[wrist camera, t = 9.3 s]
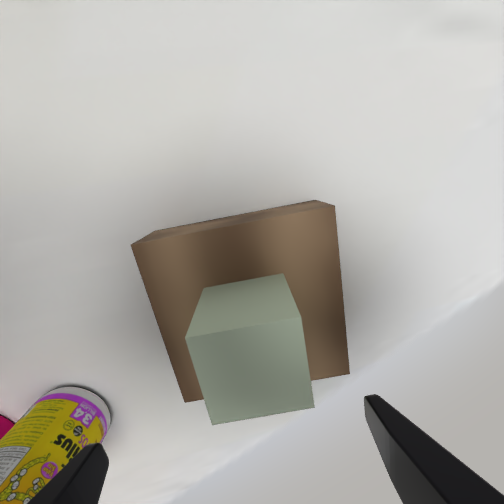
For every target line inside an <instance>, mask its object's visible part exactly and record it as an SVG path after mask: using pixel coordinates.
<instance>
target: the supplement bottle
mask: <svg viewBox="0 0 504 504" xmlns="http://www.w3.org/2000/svg"><path fill="white" fill-rule="evenodd" d="M110 421H111V419H110V412H109V410H108V407H107V406H106V404H105V403H104V401H103V400H102V399H101V398H100V397H98V396H97V395H96V394H94V393H92V392H90V391H88V390H85V389H82V388H77V387H63V388H58V389H55V390H52V391H50V392H48V393H46V394H45V395H43V396H42V397H41V398H40V399H39V400H38V401H37V402H36V403H35V404H34V405H33V406H32V407H31V408H30V409H29V410H28V411H27V412H26V413H25V414H24V415H23V416H22V417H21V418H20V419H19V421H18V422H17V423H16V424H15V425H14V426H13V427H12V428H11V429H10V430H9V431H8V432H7V433H6V434H5V436H4V437H3V438H2V439H1V440H0V504H27V503H28V502H29V501H30V500H31V499H32V498H33V497H34V496H35V495H36V494H37V493H38V492H39V491H40V490H41V489H42V488H43V487H44V486H45V485H46V484H47V483H48V482H49V481H50V480H51V479H52V478H53V477H54V476H55V475H56V474H57V473H58V472H59V471H60V470H61V469H62V468H63V467H64V466H65V465H66V464H67V463H68V462H69V461H70V460H71V459H72V458H73V457H74V456H75V455H76V454H77V453H78V452H79V451H80V450H81V449H83V448H84V447H85V446H86V445H88V444H92V443H102V441H103V439H104V437H105V435H106V433H107V431H108V429H109V426H110Z"/></svg>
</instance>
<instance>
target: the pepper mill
mask: <svg viewBox="0 0 504 504" xmlns="http://www.w3.org/2000/svg"><path fill="white" fill-rule="evenodd" d="M13 426H14V424H13V423H12V422H11V421H9V420H8V419H6V418H5V417H3V416H0V440H1V439H2V438H3V437H4V436H5V434H6V433H7V432H8V431H9V430H10V429H11V428H12V427H13Z"/></svg>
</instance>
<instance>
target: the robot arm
mask: <svg viewBox="0 0 504 504" xmlns="http://www.w3.org/2000/svg"><path fill="white" fill-rule="evenodd" d="M364 406H365V417H366V420H367V423H368V426H369V428H370V430H371V433H372V435H373V437H374V440H375V443H376V445H377V447H378V450H379V452H380V455H381V457H382V460H383V462H384V464H385V467H386V469H387V472H388V474H389V476H390V479H391V481H392V483H393V485H394V487H395V489H396V491H397V493H398V494H399V497H400V498H401V500H402V502H403V504H504V495H503V494H501V493H500V492H499V491H497V490H496V489H495V488H494V487H493V486H491V485H490V484H489V483H488V482H486V481H485V480H484V479H483V478H481V477H480V476H479V475H477V474H476V473H475V472H474V471H473V470H471V469H470V468H469V467H468V466H466V465H465V464H464V463H463V462H461V461H460V460H459V459H457V458H456V457H455V456H454V455H452V454H451V453H450V452H449V451H447V450H446V449H445V448H444V447H442V446H441V445H440V444H439V443H437V442H436V441H435V440H434V439H432V438H431V437H430V436H429V435H427V434H426V433H425V432H424V431H422V430H421V429H420V428H419V427H417V426H416V425H415V424H414V423H412V422H411V421H410V420H409V419H407V418H406V417H405V416H404V415H402V414H401V413H400V412H399V411H397V410H396V409H395V408H393V407H392V406H391V405H390V404H388V403H387V402H386V401H385V400H384V399H382V398H381V397H380V396H378V395H376V394H374V395H368V396H365V397H364ZM108 466H109V459H108V456H107V454H106V452H105V450H104V448H103V446H102V445H101V443H92V444H88V445H86V446H85V447H84V448H83V449H81V450H80V451H79V452H78V453H77V454H76V455H75V456H74V457H73V458H72V459H71V460H70V461H69V462H68V463H67V464H66V465H65V466H64V467H63V468H62V469H61V470H60V471H59V472H58V473H57V474H56V475H55V476H54V477H53V478H52V479H51V480H50V481H49V482H48V483H47V484H46V485H45V486H44V487H43V488H42V489H41V490H40V491H39V492H38V493H37V494H36V495H35V496H34V497H33V498H32V499H31V500H30V501H29V502H28V503H27V504H98V501H99V498H100V494H101V491H102V487H103V484H104V480H105V477H106V474H107V470H108Z"/></svg>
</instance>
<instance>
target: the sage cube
mask: <svg viewBox="0 0 504 504" xmlns="http://www.w3.org/2000/svg"><path fill="white" fill-rule="evenodd" d="M185 340H186V343H187V346H188V349H189V353H190V356H191V359H192V362H193V365H194V369H195V372H196V375H197V378H198V381H199V385H200V388H201V391H202V394H203V397H204V401H205V404H206V407H207V410H208V413H209V417H210V420H211V423H212V425H216V424H222V423H228V422H233V421H239V420H245V419H251V418H257V417H263V416H268V415H274V414H280V413H286V412H292V411H297V410H303V409H309V408H315V407H314V400H313V393H312V387H311V380H310V373H309V366H308V360H307V353H306V346H305V339H304V333H303V326H302V319H301V315H300V313H299V310H298V308H297V306H296V303H295V301H294V298H293V296H292V293H291V291H290V289H289V286H288V284H287V281H286V279H285V276H284V274H283V273H282V274H276V275H271V276H265V277H260V278H255V279H249V280H244V281H239V282H233V283H228V284H223V285H217V286H212V287H206V288H204V289H203V291H202V294H201V297H200V299H199V302H198V305H197V307H196V310H195V313H194V315H193V318H192V321H191V323H190V326H189V329H188V331H187V334H186V336H185Z"/></svg>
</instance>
